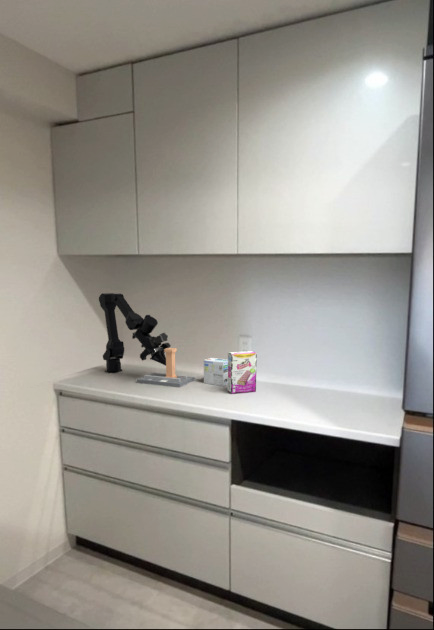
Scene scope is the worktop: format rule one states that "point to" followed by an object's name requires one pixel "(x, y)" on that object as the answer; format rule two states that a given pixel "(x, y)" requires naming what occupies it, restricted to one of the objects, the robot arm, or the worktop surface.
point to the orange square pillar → (170, 362)
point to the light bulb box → (216, 371)
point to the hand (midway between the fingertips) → (167, 365)
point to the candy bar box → (242, 372)
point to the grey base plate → (165, 380)
